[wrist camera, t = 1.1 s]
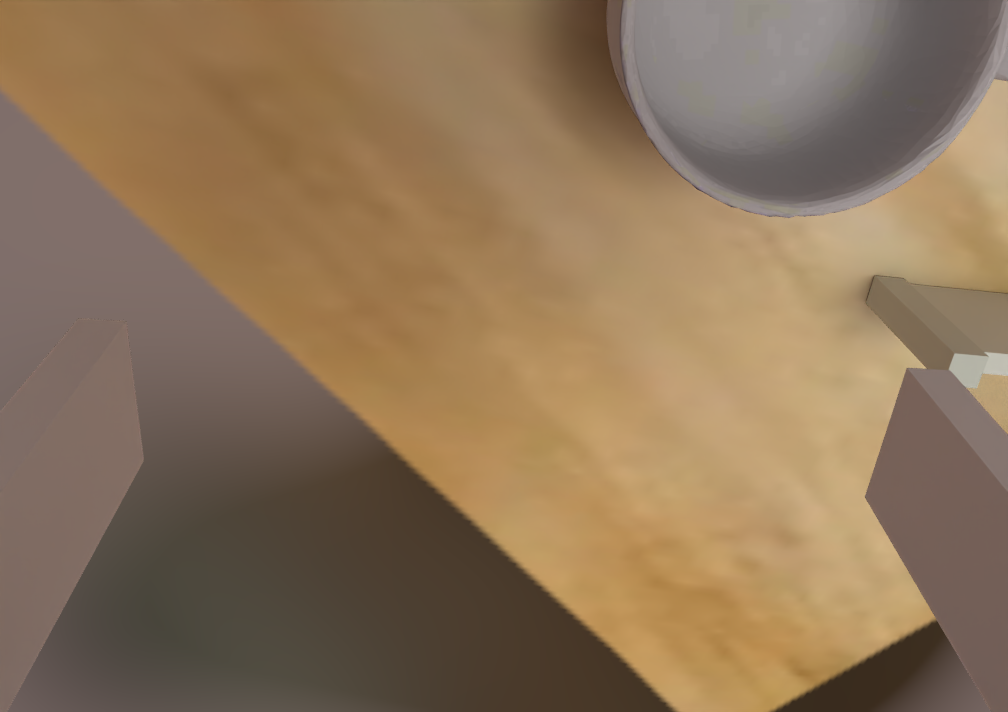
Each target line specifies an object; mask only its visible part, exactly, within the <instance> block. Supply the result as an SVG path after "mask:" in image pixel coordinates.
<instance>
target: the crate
mask: <svg viewBox="0 0 1008 712" xmlns="http://www.w3.org/2000/svg"><path fill="white" fill-rule="evenodd" d="M866 304H867V305H868V306H869V307H870V308H871V309H872V311H873V312H874V313H875V314H876V315H877V316H878V317H879V318H880V319H881V320H882V321H883V322H884V323H885V324H886V325H887V326H888V328H889V329H890V330H891V331H892V332H893V333H894V334H895V335H896V336H897V337H898V338H899V339H900V340H901V341H902V342H903V344H904V345H905V346H906V347H907V348H908V349H909V350H910V351H911V352H912V353H913V354H914V355H915V356H916V357H917V358H918V359H919V361H920V362H921V363H922V364H923V365H924V366H925V367H926V368H927V369H936V370H950V371H951V372H952V373H953V374H954V375H955V376H956V377H957V378H958V380H959V381H960V382H961V383H962V384H963V385H964V386H965V387H968V388H977V386H978V384H979V381H980V379H981V376H982V373H984V374H995V375H1005V376H1008V294H1004V293H995V292H985V291H975V290H965V289H955V288H945V287H935V286H926V285H916V284H909V283H908V282H907V281H906V280H905V279H904V278H894V277H885V276H874V279H873V282H872V285H871V288H870V291H869V295H868V298H867V301H866Z"/></svg>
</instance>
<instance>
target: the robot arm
mask: <svg viewBox="0 0 1008 712" xmlns="http://www.w3.org/2000/svg"><path fill="white" fill-rule="evenodd" d="M143 461H144V458H143V449H142V441H141V433H140V426H139V418H138V409H137V401H136V393H135V385H134V377H133V369H132V361H131V353H130V345H129V337H128V329H127V322H126V321H115V320H99V319H82V318H78V320H77V321H76V322H75V323H74V324H73V325H72V327H71V328H70V329H69V330H68V331H67V333H66V334H65V335H64V336H63V337H62V339H61V340H60V341H59V342H58V343H57V345H56V346H55V347H54V348H53V349H52V351H51V352H50V353H49V354H48V355H47V356H46V358H45V359H44V360H43V361H42V362H41V363H40V365H39V366H38V367H37V368H36V369H35V371H34V372H33V373H32V374H31V375H30V377H29V378H28V379H27V380H26V381H25V383H24V384H23V385H22V386H21V387H20V388H19V390H18V391H17V392H16V393H15V394H14V396H13V397H12V398H11V399H10V400H9V402H8V403H7V404H6V405H5V407H3V409H2V410H1V411H0V712H7V711H8V709H9V707H10V705H11V704H12V702H13V700H14V698H15V696H16V694H17V693H18V691H19V689H20V687H21V685H22V683H23V681H24V680H25V678H26V676H27V674H28V672H29V670H30V668H31V667H32V665H33V663H34V661H35V659H36V658H37V655H38V654H39V652H40V650H41V648H42V647H43V645H44V643H45V641H46V639H47V637H48V635H49V634H50V632H51V630H52V628H53V626H54V624H55V623H56V621H57V619H58V617H59V615H60V613H61V611H62V609H63V608H64V606H65V604H66V602H67V600H68V599H69V597H70V595H71V593H72V591H73V589H74V588H75V586H76V584H77V582H78V580H79V578H80V576H81V575H82V573H83V571H84V569H85V567H86V565H87V564H88V562H89V560H90V558H91V556H92V555H93V553H94V551H95V549H96V547H97V545H98V543H99V542H100V539H101V538H102V536H103V534H104V532H105V531H106V528H107V527H108V525H109V523H110V521H111V520H112V518H113V516H114V514H115V512H116V510H117V508H118V507H119V505H120V503H121V501H122V499H123V497H124V495H125V494H126V492H127V490H128V488H129V486H130V484H131V483H132V481H133V479H134V477H135V475H136V473H137V472H138V470H139V468H140V466H141V464H142V462H143ZM865 498H866V500H867V502H868V503H869V505H870V507H871V508H872V510H873V512H874V513H875V515H876V517H877V519H878V520H879V522H880V524H881V525H882V527H883V529H884V531H885V532H886V534H887V536H888V537H889V539H890V541H891V542H892V544H893V546H894V548H895V549H896V551H897V553H898V554H899V556H900V558H901V559H902V561H903V563H904V565H905V566H906V568H907V570H908V571H909V573H910V575H911V576H912V578H913V580H914V582H915V583H916V585H917V587H918V588H919V590H920V592H921V594H922V595H923V597H924V599H925V600H926V602H927V604H928V605H929V607H930V609H931V611H932V612H933V614H934V616H935V617H936V619H937V621H938V622H939V624H940V626H941V627H942V629H943V631H944V633H945V634H946V636H947V638H948V640H949V641H950V643H951V645H952V646H953V648H954V650H955V651H956V653H957V654H958V657H959V658H960V660H961V662H962V663H963V665H964V667H965V668H966V670H967V672H968V674H969V675H970V677H971V678H972V680H973V682H974V684H975V685H976V687H977V689H978V690H979V692H980V694H981V696H982V697H983V699H984V701H985V703H986V704H987V706H988V708H989V709H990V711H991V712H1008V435H1007V434H1006V432H1005V431H1004V430H1003V429H1002V428H1001V427H1000V426H999V425H998V423H997V422H996V421H995V420H994V419H993V418H992V417H991V416H990V414H989V413H988V412H987V411H986V410H985V409H984V408H983V407H982V405H981V404H980V403H979V402H978V401H977V400H976V399H975V398H974V396H973V395H972V394H971V393H970V392H969V391H968V390H967V389H966V387H965V386H964V385H963V384H962V383H961V382H960V381H959V380H958V378H957V377H956V376H955V375H954V374H953V373H952V372H951V371H950V370H936V369H919V368H907V369H906V372H905V375H904V379H903V382H902V385H901V388H900V391H899V394H898V397H897V400H896V403H895V406H894V409H893V412H892V415H891V418H890V421H889V425H888V428H887V431H886V434H885V437H884V440H883V443H882V446H881V449H880V452H879V455H878V458H877V461H876V464H875V468H874V471H873V474H872V477H871V480H870V483H869V486H868V489H867V492H866V495H865Z"/></svg>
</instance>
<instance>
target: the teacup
mask: <svg viewBox="0 0 1008 712" xmlns="http://www.w3.org/2000/svg"><path fill="white" fill-rule="evenodd" d="M607 36H608V45H609V51H610V56H611V61H612V64H613V68H614V71H615V74H616V77H617V80H618V82H619V85H620V88H621V90H622V92H623V94H624V96H625V98H626V100H627V102H628V104H629V106H630V108H631V110H632V111H633V113H634V114H635V116H636V117H637V119H638V120H639V122H640V124H641V126H642V128H643V130H644V132H645V133H646V135H647V136H648V138H649V139H650V141H651V142H652V144H653V145H654V147H655V148H656V149H657V151H658V152H659V153H660V154H661V156H662V157H663V158H664V159H665V160H666V162H667V163H668V164H669V165H670V166H671V167H672V168H673V169H674V170H675V171H676V172H677V173H678V174H679V175H680V176H682V177H683V178H684V179H685V180H687V181H688V182H690V183H691V184H692V185H693V186H694V187H695V188H696V189H698V190H700V191H702V192H704V193H705V194H707V195H709V196H711V197H713V198H714V199H716V200H718V201H721V202H723V203H725V204H727V205H728V206H730V207H734V208H740V209H742V210H745V211H747V212H752V213H756V214H761V215H765V216H769V217H772V216H779V217H787V218H790V217H794V216H804V217H805V216H815V215H825V214H828V213H835V212H839V211H844V210H847V209H850V208H854V207H857V206H860V205H863V204H866V203H868V202H870V201H872V200H874V199H876V198H878V197H880V196H882V195H884V194H886V193H888V192H890V191H891V190H894V189H896V188H898V187H899V186H901V185H902V184H904V183H905V182H907V181H908V180H910V179H911V178H913V177H914V176H916V175H917V174H918V173H920V172H921V171H923V170H924V169H925V168H926V167H927V166H928V165H929V164H930V163H931V162H932V161H934V160H935V159H936V158H937V157H939V156H940V155H941V154H942V153H943V152H944V150H945V149H946V148H947V147H948V146H949V145H950V144H951V143H952V142H953V140H954V139H955V138H956V137H957V135H958V134H959V133H960V131H961V130H962V129H963V128H964V126H965V125H966V124H967V122H968V121H969V119H970V118H971V116H972V115H973V113H974V112H975V110H976V109H977V107H978V106H979V104H980V103H981V101H982V99H983V98H984V96H985V94H986V92H987V90H988V89H989V87H990V85H991V83H992V82H993V80H994V79H998V80H1004V81H1008V0H608V2H607Z"/></svg>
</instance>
